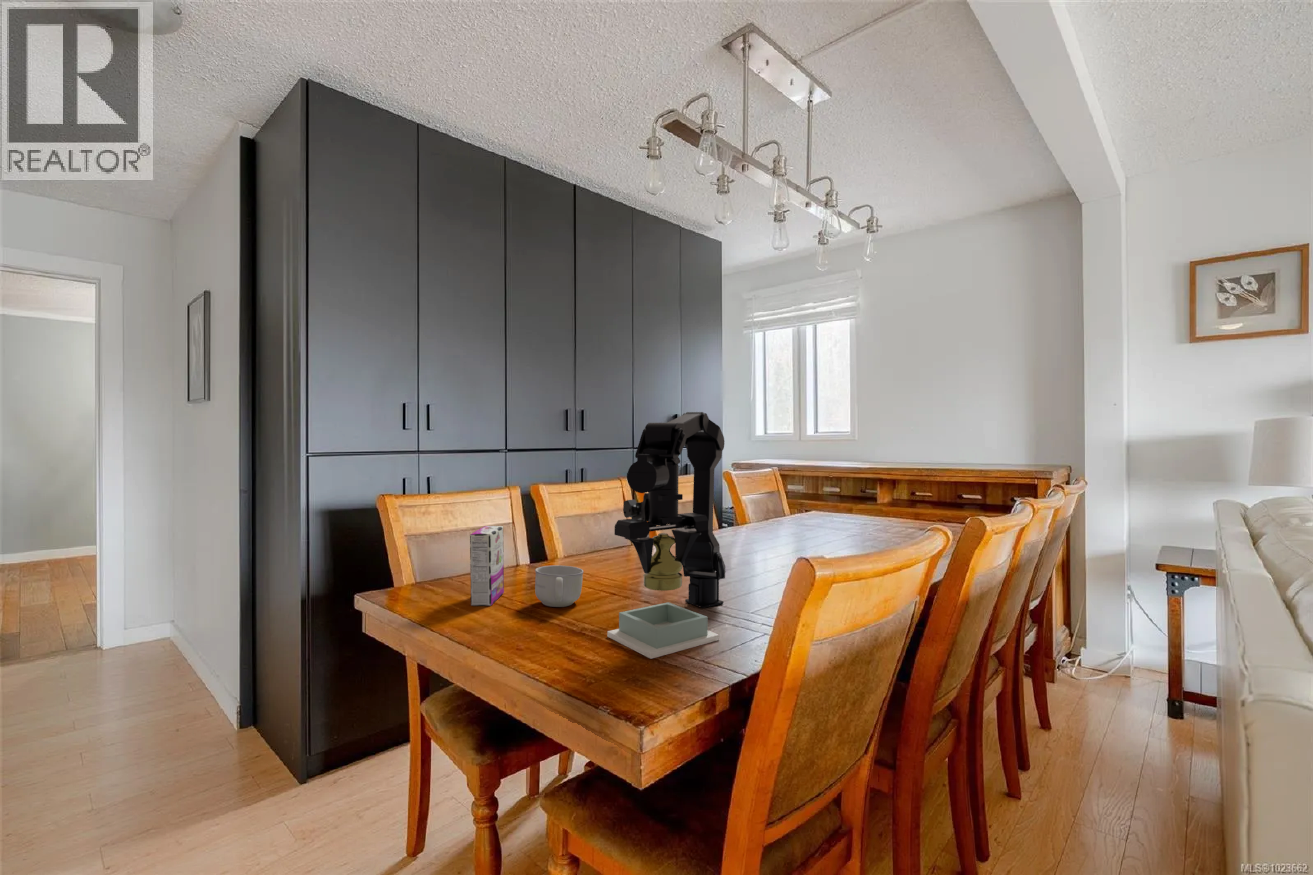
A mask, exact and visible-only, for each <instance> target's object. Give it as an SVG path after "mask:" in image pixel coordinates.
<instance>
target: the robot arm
mask: <svg viewBox="0 0 1313 875" xmlns="http://www.w3.org/2000/svg"><path fill="white" fill-rule="evenodd" d="M684 447H685V449H686V455H687V456H686V457H687V459H688V460H689V462H690V464H691V465H692V467H693V485H692V486H693V488H692V491H693V492H692V493H693V494H692V512H685V513H679V501H683V497H684V496H683V494H682V493H679V464H681V459H680V457H679V456H681V455H682V451H683V449H684ZM724 449H725V436H724V433H723V432H722V429H721V427H720V426H719V425H718V424H716V423H715V422H714V421H712V420H711V419H710V418H709V416H708V414H707V413H705V412H703V411H687V412H686V413H685V412H684V413H683V414H682V415H681V416H678V417H676V418H674V419H672V420H670V421H667V422H648V423H647V424H645V426H644V428H643V430H642V432H641V435H640V439H639V441H638V445H637V449H636V451H635V455H634V456H635V457H634V458H635V459H636V461H635V462H633V463H632V464H631V465H630V467H629V468H628V470H627V473H626V481H627V484H628V486H629V488H630V489H632V491H634V492H636V493H638V494H643V495H642V496H643V498H642V499H643V500H642V501H641V502H637V501H636V499H626V500H624V501H623V507H622V512H623V515H624V517H625V518H624V519H617V521H616V523H614V536H618V537H621V538H624V539H625V540H627V541H630V542H631V544H632V545H633V547H634V548H635V551H636V553H637V556H638V559H639V561H640V564H641V567H642V571H643V572H644V573H643V574H645V573H646V574H648V573H649V571H650V567H651V559H652V555H653V550H654V545H653V542H654V539H653V537H650V532H658V531H666V530H671V532H672V534H673V538H675V539H676V543H675V546H674V550H675V552H674V554H675V555H674V556H675V559H677V560H679V561H680V562H681V563H682V572H683V577H689V583H688V598H686V599H684V600H685V603H688V604H691V605H693V606H696V607H699V608H701V609H705V608H709V607H715V606H718V605H719V606H720V605H723V604H724V600H720V599H719V598H720V595H719V594H720V585H719V584H720V580H725V579H726V572H727V571H726V565H725V561H724V559H723V555H722V554H721V551H720V548H721V547H720V543H719V541H718V539H717V538H716V536H715V533H713V532H714V529H713V528H714V503H715V502H714V497H715V495H714V494H715V491H714V490H715V468H716V467H717V465H718V464H719V463H720V461H721V459H722V458H723V457H722V456H723V450H724Z"/></svg>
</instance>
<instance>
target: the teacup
mask: <svg viewBox="0 0 1313 875" xmlns="http://www.w3.org/2000/svg"><path fill="white" fill-rule="evenodd" d="M534 572H535V581H534V582H535V583H534V590H535V593H534V594H535V596H536V598H537V599H538V600H539V601H541V603H542V604H543V605H544V606H546V607H551V608H552V607H553V608H565V607H569V606H572V605H573V604H574V602H576V601H577V600H578V599H579V598H580V597H581V594H582V588H583V578H584V577H583V575H584V570H583V569H582V568H580V567H577V566H572V565H571V566H570V565H559V564H557V565H556V564H555V565H552V564H551V565H544V566H539V567H536V568H535V570H534Z"/></svg>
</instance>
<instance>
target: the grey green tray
mask: <svg viewBox="0 0 1313 875" xmlns="http://www.w3.org/2000/svg"><path fill="white" fill-rule="evenodd" d="M708 619H709V617H708V616H706V615H704V614H701V613H698V612H696V611H692V610H691V609H687V608H684V607H682V606H680V605H677V604H674V603H673V602H672V603H671V602H669V601H668V602H664V603H658V604H653V605H649V606H644V607H638V608H635V609H630V610H626V611H620V612H618V628H616V629H612V630H607V638H608V639H609V638H610V639H611V640H613V641H615V642H617V643H619V644H621V645H622V646H625V647H627V648H628V649H631V650H632V651H635V652H637V653H639V654H640V655H643V656H644V657H646V658H648V659H655V658H659V657H663V656H665V655H666V656H667V655H670V654H674V653H677V652H680V651H684V650H687V649H692V648H695V647H698V646H703V645H706V644H710V643H714V642H716V641H720V635H719V634H718V633H716V632H713V631H711V630H709V629H708V627H709V626H708V624H709V622H708V621H709V620H708Z"/></svg>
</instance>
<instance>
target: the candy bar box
mask: <svg viewBox="0 0 1313 875" xmlns="http://www.w3.org/2000/svg"><path fill="white" fill-rule="evenodd" d="M469 547H470V548H469V555H470V556H469V558H470V559H469V560H470V562H469V563H470V564H469V565H470V606H473V607H491V606H492V605H493V604H495V602H496V601H497V600H498V599H499V598H500V597H501V596H502V595H503V594H504V593H505V581H504V580H505V576H504V573H505V572H504V571H505V570H504V567H505V566H504V564H505V563H504V562H505V561H504V526H503V525H485V526H482V527H481V528H479V529H477V530H475V531H474V532H472V533H470V534H469Z"/></svg>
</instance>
